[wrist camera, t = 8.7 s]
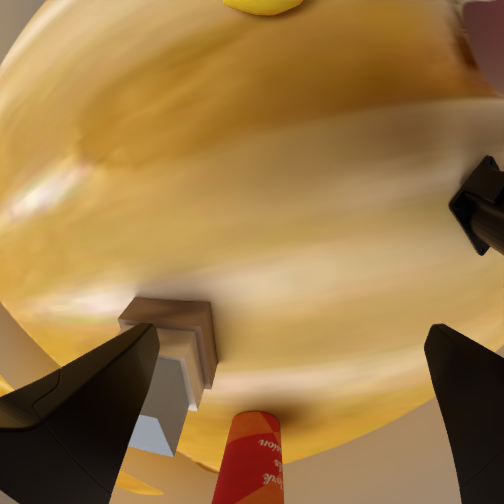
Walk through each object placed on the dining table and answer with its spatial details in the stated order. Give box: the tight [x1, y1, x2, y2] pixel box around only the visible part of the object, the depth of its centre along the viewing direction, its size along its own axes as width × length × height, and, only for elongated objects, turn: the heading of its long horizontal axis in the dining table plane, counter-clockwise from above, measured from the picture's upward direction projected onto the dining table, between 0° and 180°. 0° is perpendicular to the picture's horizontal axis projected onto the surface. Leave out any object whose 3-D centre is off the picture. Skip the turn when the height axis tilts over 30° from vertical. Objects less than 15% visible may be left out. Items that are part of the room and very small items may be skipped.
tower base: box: [117, 298, 218, 411], centre depth 22 cm, size 7×7×6 cm
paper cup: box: [212, 411, 284, 504], centre depth 23 cm, size 8×8×14 cm
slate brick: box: [128, 358, 189, 457], centre depth 17 cm, size 5×5×5 cm
